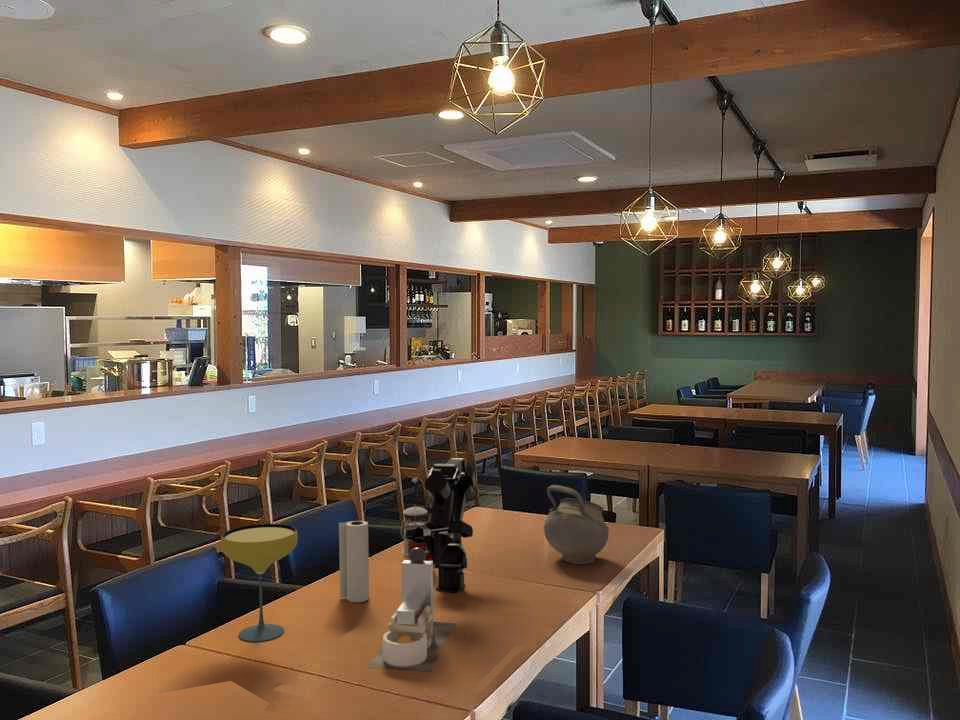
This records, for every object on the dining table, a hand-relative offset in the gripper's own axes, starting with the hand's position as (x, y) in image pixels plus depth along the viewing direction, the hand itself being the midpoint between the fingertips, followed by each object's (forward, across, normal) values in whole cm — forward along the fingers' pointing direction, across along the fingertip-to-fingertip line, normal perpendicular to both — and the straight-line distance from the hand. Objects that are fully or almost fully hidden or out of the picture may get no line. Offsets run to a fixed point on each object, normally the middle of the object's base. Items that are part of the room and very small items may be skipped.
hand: (435, 564), depth 205 cm
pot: (-18, -9, -60) cm, 64 cm away
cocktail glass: (+22, +32, +25) cm, 46 cm away
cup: (+27, -8, +18) cm, 33 cm away
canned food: (-7, +26, -27) cm, 38 cm away
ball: (+24, -9, +19) cm, 32 cm away
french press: (-18, +39, -38) cm, 58 cm away
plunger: (+23, -6, +12) cm, 26 cm away
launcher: (+24, -5, +11) cm, 27 cm away
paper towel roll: (+7, +28, -2) cm, 28 cm away
